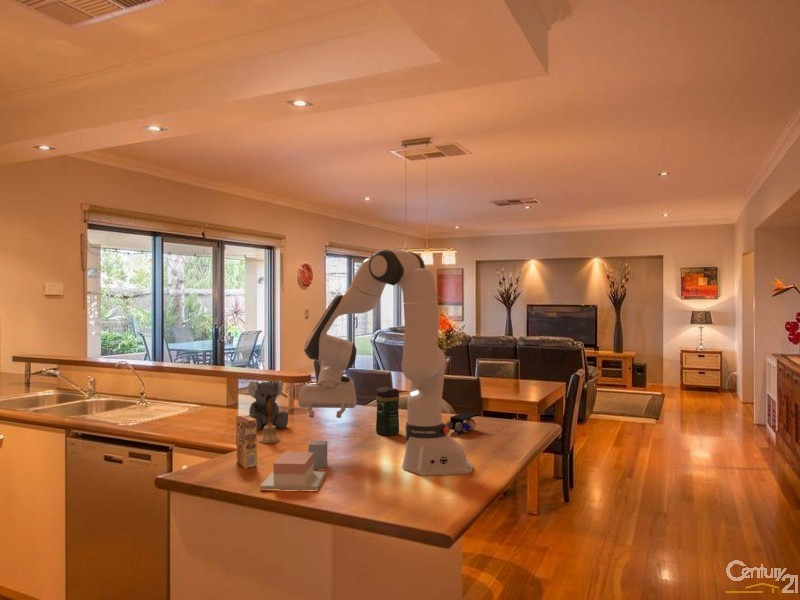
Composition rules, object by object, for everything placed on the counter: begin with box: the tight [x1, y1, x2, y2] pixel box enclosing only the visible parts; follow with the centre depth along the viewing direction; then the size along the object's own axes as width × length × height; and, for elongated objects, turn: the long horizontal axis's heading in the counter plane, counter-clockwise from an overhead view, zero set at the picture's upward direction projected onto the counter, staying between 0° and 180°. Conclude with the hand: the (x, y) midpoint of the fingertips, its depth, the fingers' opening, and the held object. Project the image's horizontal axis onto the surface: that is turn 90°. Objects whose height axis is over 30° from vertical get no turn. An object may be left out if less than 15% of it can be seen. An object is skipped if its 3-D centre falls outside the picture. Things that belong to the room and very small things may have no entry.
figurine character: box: [445, 411, 479, 436], centre depth 231 cm, size 7×8×15 cm
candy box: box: [235, 414, 258, 469], centre depth 186 cm, size 9×4×15 cm, turn 35°
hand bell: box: [257, 399, 281, 444], centre depth 217 cm, size 8×8×16 cm
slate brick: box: [308, 440, 328, 470], centre depth 183 cm, size 5×5×8 cm
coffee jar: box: [375, 386, 400, 436], centre depth 229 cm, size 10×8×19 cm
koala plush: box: [247, 380, 289, 431], centre depth 243 cm, size 17×18×20 cm
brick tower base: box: [259, 451, 327, 491], centre depth 167 cm, size 16×14×8 cm
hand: (324, 416), depth 195 cm, fingers open, 8 cm apart
